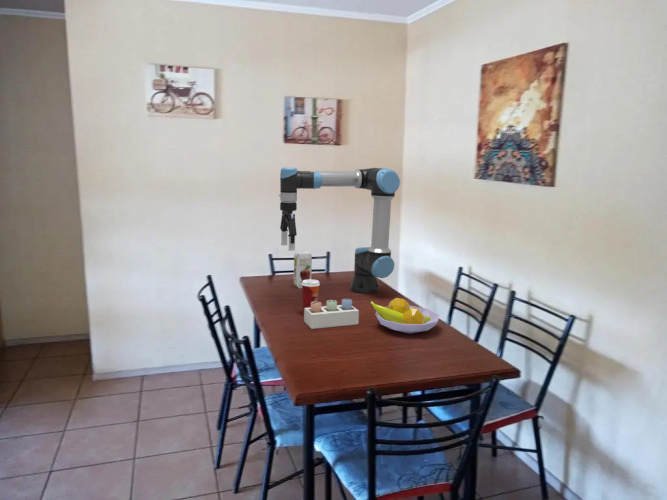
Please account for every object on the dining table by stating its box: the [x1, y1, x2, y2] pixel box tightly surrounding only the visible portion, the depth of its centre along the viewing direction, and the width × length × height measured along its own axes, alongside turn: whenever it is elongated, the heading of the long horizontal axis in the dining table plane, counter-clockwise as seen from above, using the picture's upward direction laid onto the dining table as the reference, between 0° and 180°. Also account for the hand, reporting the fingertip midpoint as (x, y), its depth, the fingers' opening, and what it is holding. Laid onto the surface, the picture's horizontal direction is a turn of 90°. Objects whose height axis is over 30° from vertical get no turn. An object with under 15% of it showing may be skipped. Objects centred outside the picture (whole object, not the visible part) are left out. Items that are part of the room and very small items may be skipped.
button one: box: [341, 298, 353, 310], centre depth 220 cm, size 4×4×6 cm
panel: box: [303, 304, 360, 330], centre depth 218 cm, size 21×10×6 cm, turn 111°
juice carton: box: [293, 250, 313, 289], centre depth 275 cm, size 8×9×19 cm
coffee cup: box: [301, 278, 321, 314], centre depth 229 cm, size 8×8×15 cm
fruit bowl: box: [369, 297, 440, 334], centre depth 214 cm, size 28×27×11 cm
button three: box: [311, 300, 322, 313], centre depth 215 cm, size 4×4×6 cm
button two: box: [325, 299, 338, 312], centre depth 217 cm, size 4×4×6 cm
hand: (287, 247), depth 236 cm, fingers open, 13 cm apart
